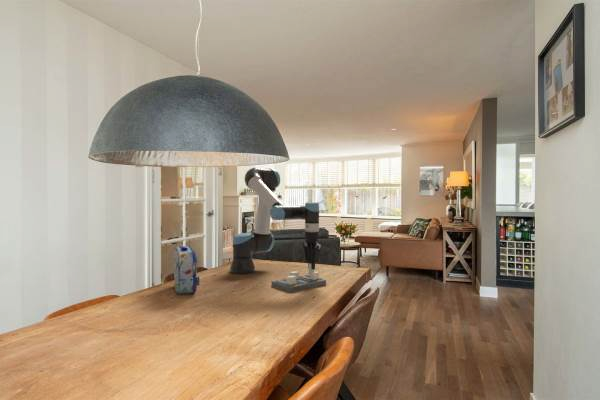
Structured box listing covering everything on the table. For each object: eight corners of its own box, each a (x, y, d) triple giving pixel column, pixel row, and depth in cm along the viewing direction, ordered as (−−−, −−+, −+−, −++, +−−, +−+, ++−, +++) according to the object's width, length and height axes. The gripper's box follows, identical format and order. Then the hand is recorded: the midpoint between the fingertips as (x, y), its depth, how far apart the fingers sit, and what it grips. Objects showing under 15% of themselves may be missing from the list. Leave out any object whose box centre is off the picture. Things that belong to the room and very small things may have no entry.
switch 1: (286, 283, 175) (286, 276, 175) (292, 282, 177) (292, 275, 177) (290, 284, 172) (290, 277, 172) (296, 283, 175) (296, 276, 175)
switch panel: (271, 286, 181) (271, 280, 181) (305, 279, 196) (305, 273, 196) (291, 292, 169) (291, 286, 169) (326, 284, 184) (326, 278, 184)
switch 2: (309, 279, 185) (309, 272, 185) (315, 277, 188) (315, 271, 188) (313, 280, 183) (313, 273, 183) (319, 278, 185) (319, 272, 185)
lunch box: (200, 295, 162) (201, 248, 162) (177, 298, 157) (177, 249, 157) (192, 282, 187) (192, 241, 187) (171, 284, 182) (171, 242, 182)
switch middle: (289, 278, 185) (289, 272, 185) (295, 277, 188) (295, 271, 188) (293, 279, 183) (293, 273, 183) (298, 278, 186) (298, 272, 186)
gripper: (298, 230, 189) (298, 274, 189) (315, 232, 180) (314, 278, 180) (308, 229, 194) (308, 272, 194) (325, 231, 184) (325, 276, 184)
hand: (311, 275), depth 187 cm, fingers closed
